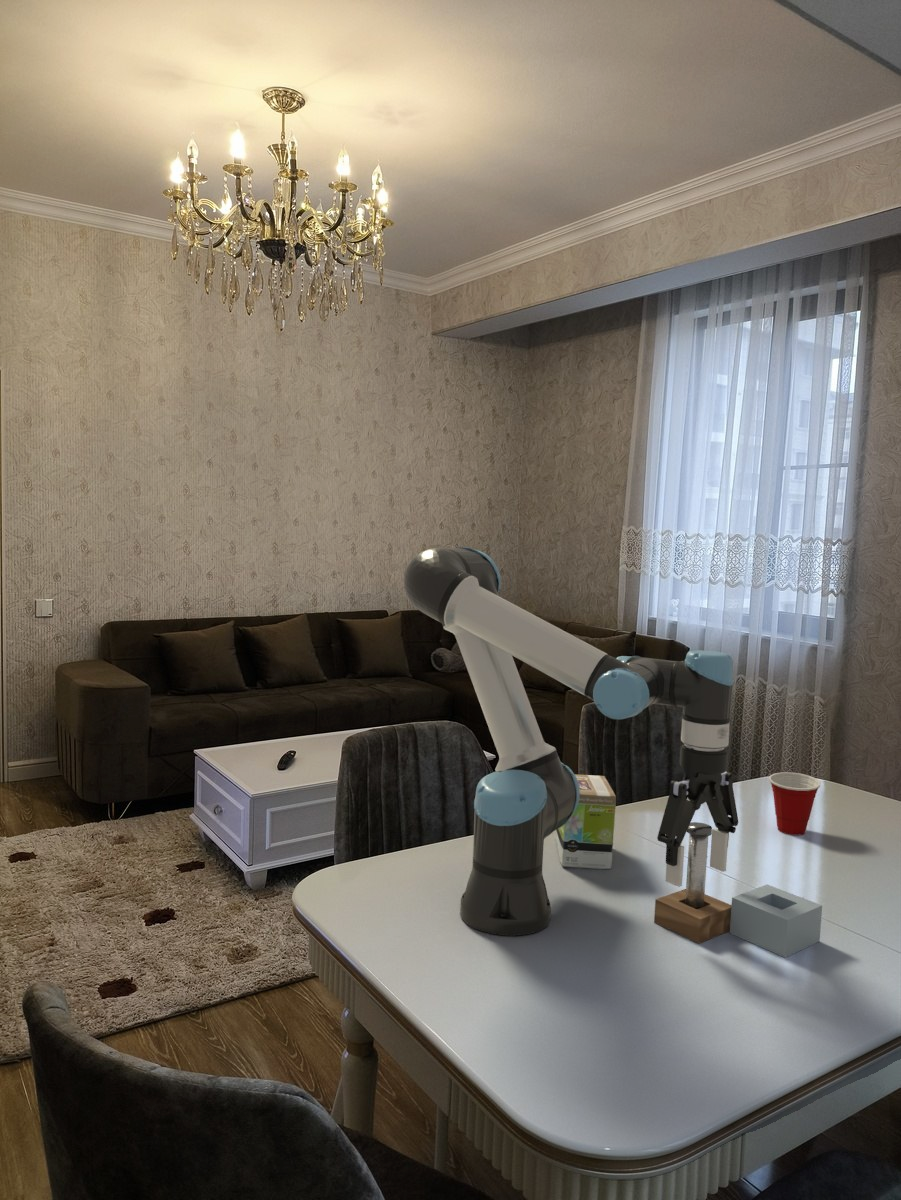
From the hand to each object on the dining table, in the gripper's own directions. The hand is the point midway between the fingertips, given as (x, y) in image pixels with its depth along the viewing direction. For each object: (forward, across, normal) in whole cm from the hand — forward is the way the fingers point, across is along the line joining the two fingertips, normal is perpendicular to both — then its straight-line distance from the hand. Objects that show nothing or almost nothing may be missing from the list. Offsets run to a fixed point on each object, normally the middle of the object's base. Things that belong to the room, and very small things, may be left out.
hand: (696, 876), depth 147 cm
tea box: (+9, +8, +33) cm, 35 cm away
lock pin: (+9, 0, 0) cm, 9 cm away
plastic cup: (+9, +59, +18) cm, 62 cm away
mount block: (+9, 0, 0) cm, 9 cm away
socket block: (+9, +8, -10) cm, 15 cm away
